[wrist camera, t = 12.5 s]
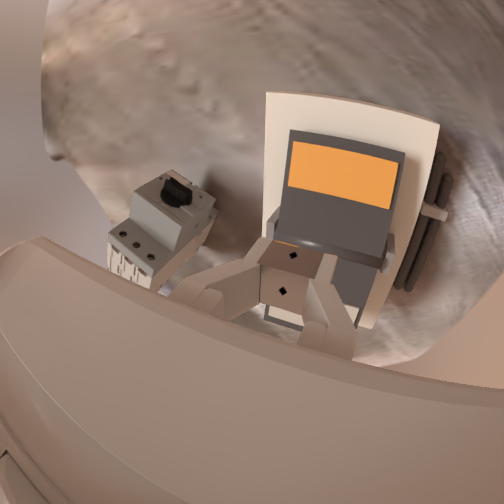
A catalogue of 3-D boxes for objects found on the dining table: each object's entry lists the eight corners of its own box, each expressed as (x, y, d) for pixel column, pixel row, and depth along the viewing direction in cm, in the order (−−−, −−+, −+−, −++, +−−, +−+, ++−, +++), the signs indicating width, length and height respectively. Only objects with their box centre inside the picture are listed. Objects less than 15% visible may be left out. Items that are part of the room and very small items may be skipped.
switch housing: (285, 90, 27) (250, 93, 20) (427, 117, 22) (450, 131, 15) (274, 270, 42) (248, 314, 35) (375, 298, 37) (368, 350, 30)
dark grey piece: (434, 150, 23) (437, 154, 22) (458, 159, 22) (462, 163, 21) (391, 284, 35) (391, 292, 33) (411, 289, 34) (411, 298, 32)
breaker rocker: (291, 129, 23) (286, 128, 22) (405, 153, 20) (408, 153, 18) (266, 312, 31) (261, 320, 30) (352, 338, 28) (350, 347, 27)
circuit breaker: (234, 178, 36) (162, 233, 25) (203, 245, 46) (145, 304, 35) (191, 151, 36) (111, 193, 25) (168, 220, 46) (107, 271, 35)
